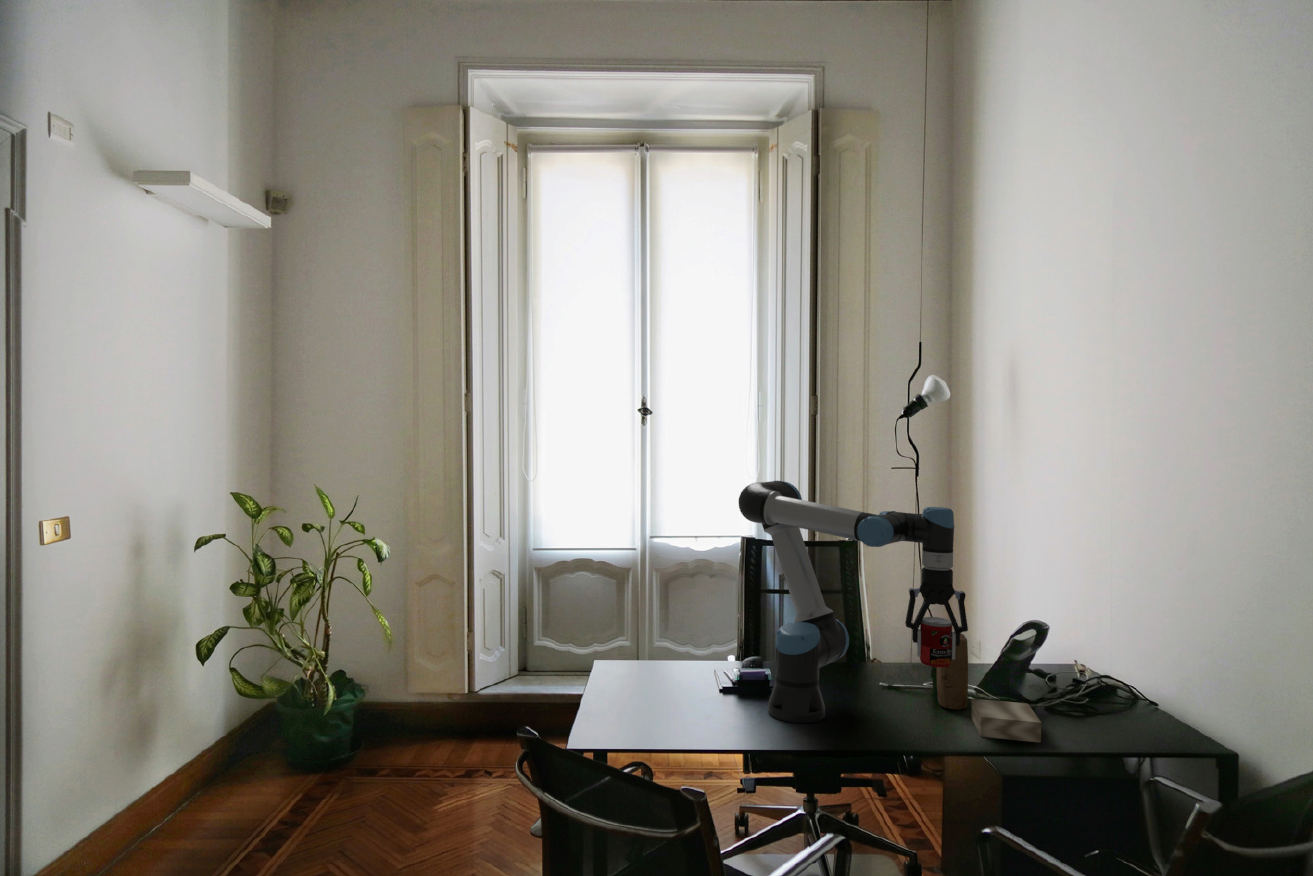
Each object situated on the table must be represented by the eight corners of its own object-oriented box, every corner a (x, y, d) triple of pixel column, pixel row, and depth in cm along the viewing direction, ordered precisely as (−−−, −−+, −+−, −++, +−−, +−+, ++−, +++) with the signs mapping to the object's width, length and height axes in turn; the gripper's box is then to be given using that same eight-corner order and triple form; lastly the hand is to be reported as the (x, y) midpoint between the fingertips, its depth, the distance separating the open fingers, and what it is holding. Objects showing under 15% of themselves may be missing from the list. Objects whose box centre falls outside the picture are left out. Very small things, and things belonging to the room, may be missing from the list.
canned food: (931, 668, 195) (932, 624, 195) (913, 659, 202) (914, 617, 202) (958, 666, 197) (959, 623, 197) (938, 657, 205) (939, 616, 204)
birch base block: (980, 736, 196) (980, 717, 196) (971, 717, 210) (971, 698, 210) (1040, 742, 193) (1041, 722, 193) (1027, 722, 207) (1027, 703, 207)
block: (968, 712, 214) (970, 639, 213) (940, 710, 215) (941, 638, 215) (961, 699, 224) (962, 630, 224) (933, 697, 226) (935, 628, 225)
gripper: (896, 567, 198) (894, 657, 198) (982, 572, 193) (980, 664, 194) (894, 563, 205) (892, 649, 206) (977, 567, 201) (975, 655, 201)
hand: (935, 656), depth 200 cm, fingers closed on canned food, 8 cm apart
